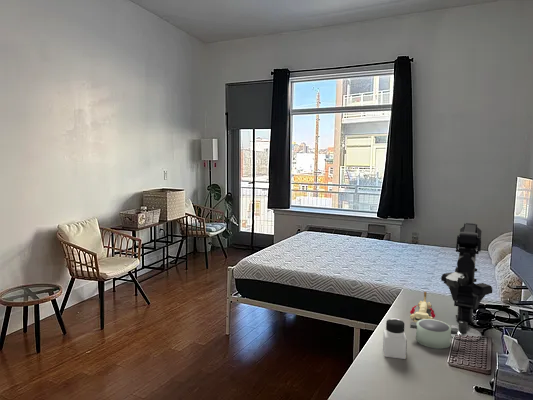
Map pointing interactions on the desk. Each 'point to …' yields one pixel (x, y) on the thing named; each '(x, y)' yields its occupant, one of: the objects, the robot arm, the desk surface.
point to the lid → (465, 330)
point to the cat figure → (422, 311)
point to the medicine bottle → (394, 339)
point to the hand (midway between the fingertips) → (464, 304)
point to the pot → (433, 333)
